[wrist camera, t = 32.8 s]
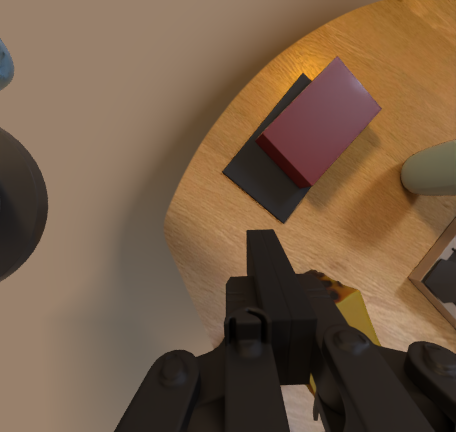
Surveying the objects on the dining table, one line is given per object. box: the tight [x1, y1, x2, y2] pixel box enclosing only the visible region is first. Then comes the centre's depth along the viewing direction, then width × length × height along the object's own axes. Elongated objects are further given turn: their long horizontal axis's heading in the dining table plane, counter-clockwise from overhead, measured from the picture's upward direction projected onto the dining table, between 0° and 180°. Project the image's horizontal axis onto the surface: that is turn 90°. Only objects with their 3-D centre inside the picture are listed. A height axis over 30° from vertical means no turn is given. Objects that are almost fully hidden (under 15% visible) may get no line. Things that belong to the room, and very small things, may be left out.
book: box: [255, 56, 382, 189], centre depth 34 cm, size 10×4×16 cm
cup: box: [401, 139, 456, 196], centre depth 34 cm, size 8×8×10 cm
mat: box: [223, 73, 312, 223], centre depth 35 cm, size 20×12×1 cm, turn 141°
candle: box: [304, 270, 381, 398], centre depth 30 cm, size 10×10×10 cm
